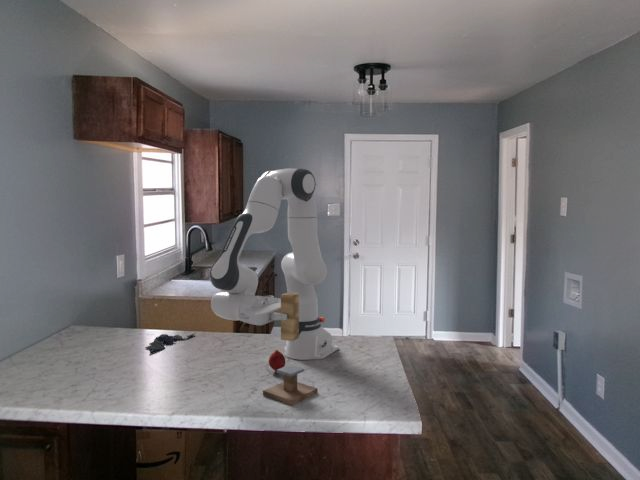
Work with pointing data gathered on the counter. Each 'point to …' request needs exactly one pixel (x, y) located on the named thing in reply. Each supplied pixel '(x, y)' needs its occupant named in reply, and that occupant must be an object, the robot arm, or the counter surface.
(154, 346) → the decorative bat
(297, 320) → the wooden rod
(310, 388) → the pedestal
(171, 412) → the counter surface
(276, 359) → the onion
